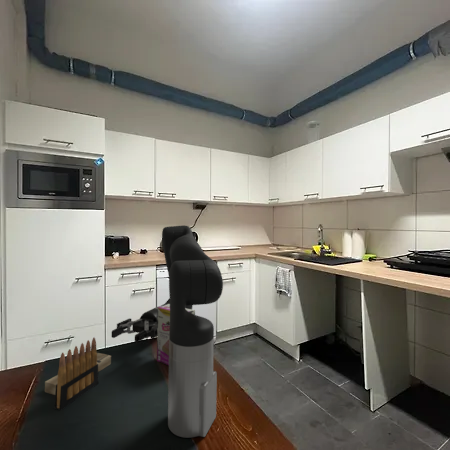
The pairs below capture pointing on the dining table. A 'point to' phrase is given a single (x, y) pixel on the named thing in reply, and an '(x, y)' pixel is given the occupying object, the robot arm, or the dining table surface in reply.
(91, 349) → the ammunition clip
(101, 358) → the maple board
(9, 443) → the dining table surface
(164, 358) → the candy bar box
